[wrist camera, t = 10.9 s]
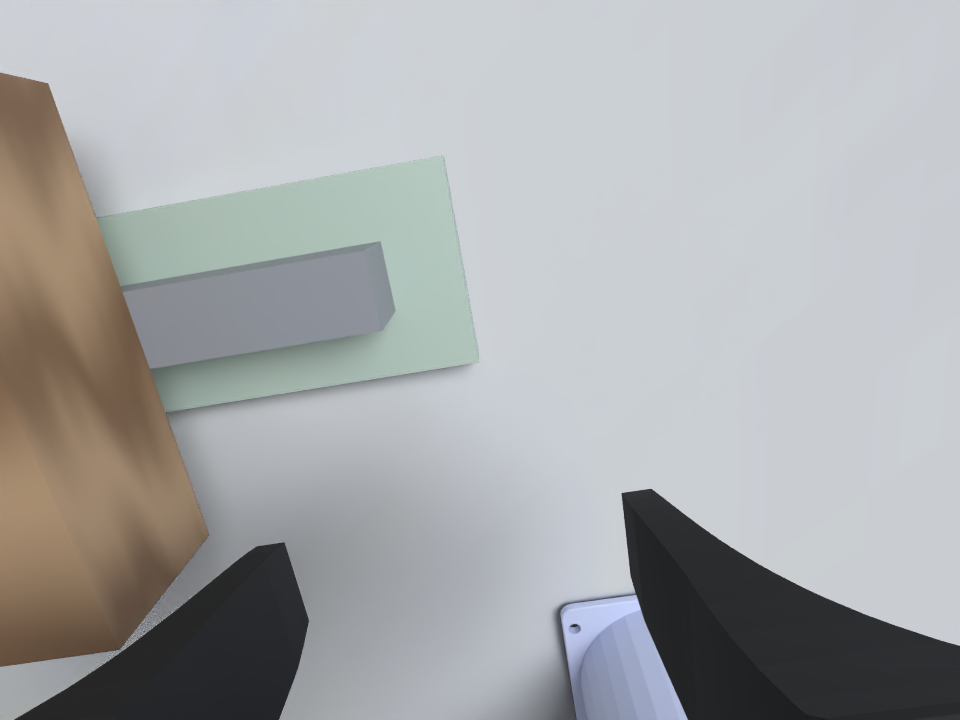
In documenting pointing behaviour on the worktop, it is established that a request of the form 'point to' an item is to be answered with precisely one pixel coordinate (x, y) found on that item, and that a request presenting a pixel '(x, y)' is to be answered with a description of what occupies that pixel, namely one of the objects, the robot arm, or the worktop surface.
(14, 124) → the walnut bar
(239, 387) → the ridge stand
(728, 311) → the worktop surface
